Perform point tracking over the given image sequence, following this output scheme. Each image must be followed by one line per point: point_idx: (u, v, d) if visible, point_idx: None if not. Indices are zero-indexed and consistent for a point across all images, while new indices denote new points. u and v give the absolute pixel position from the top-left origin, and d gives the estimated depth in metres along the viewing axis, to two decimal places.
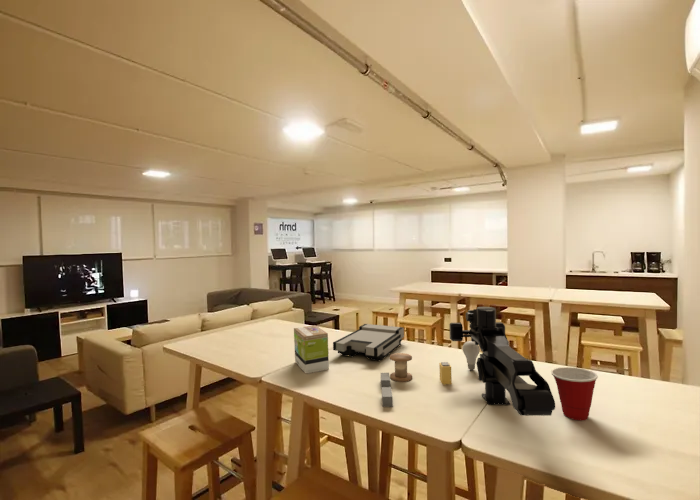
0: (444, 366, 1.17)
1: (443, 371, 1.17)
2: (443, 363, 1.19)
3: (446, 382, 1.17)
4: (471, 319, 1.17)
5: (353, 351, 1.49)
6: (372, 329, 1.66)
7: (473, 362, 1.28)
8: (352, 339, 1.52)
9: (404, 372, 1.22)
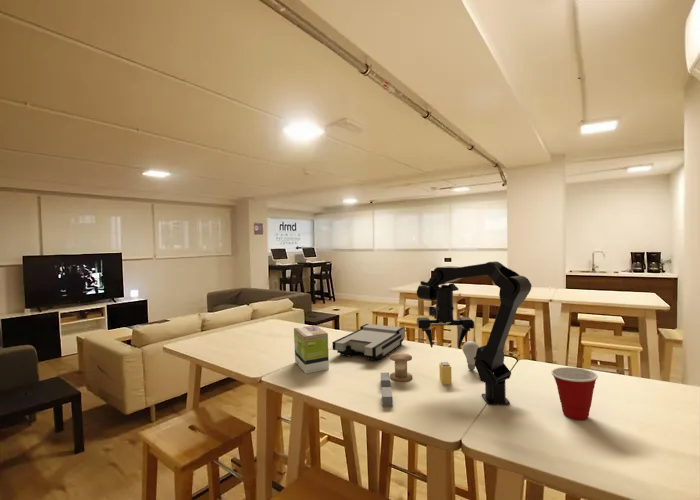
0: (444, 366, 1.17)
1: (443, 371, 1.17)
2: (443, 363, 1.19)
3: (446, 382, 1.17)
4: (433, 308, 1.24)
5: (352, 351, 1.50)
6: (373, 329, 1.66)
7: (473, 362, 1.28)
8: (351, 338, 1.52)
9: (404, 372, 1.22)
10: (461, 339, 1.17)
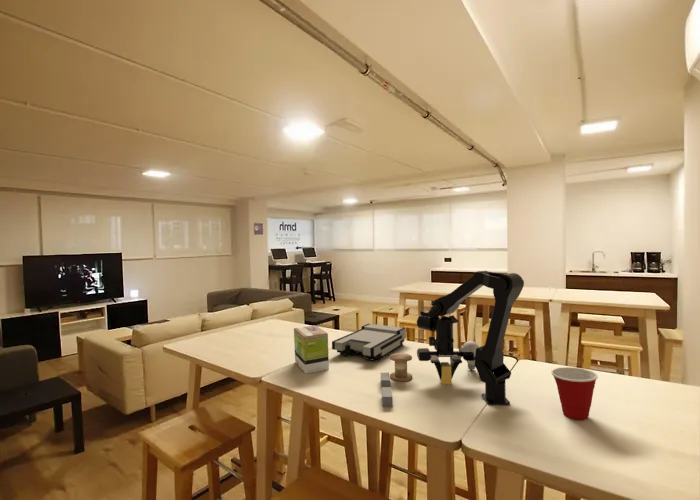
0: (444, 366, 1.17)
1: (443, 371, 1.17)
2: (443, 363, 1.19)
3: (446, 382, 1.17)
4: (433, 339, 1.24)
5: (352, 351, 1.50)
6: (374, 329, 1.66)
7: (473, 362, 1.28)
8: (351, 338, 1.53)
9: (404, 372, 1.22)
10: (453, 371, 1.17)
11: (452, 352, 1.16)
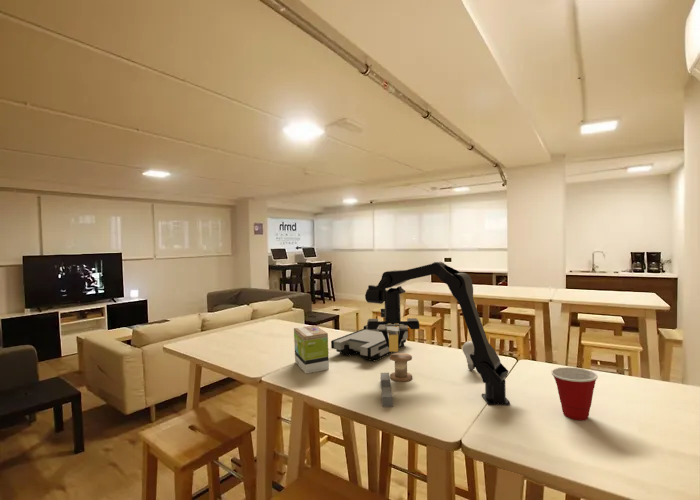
0: (391, 334, 1.24)
1: (390, 339, 1.24)
2: (391, 332, 1.26)
3: (393, 349, 1.24)
4: (384, 310, 1.31)
5: (351, 350, 1.51)
6: (376, 329, 1.66)
7: None
8: (351, 338, 1.53)
9: (404, 372, 1.22)
10: (400, 339, 1.24)
11: (398, 321, 1.23)
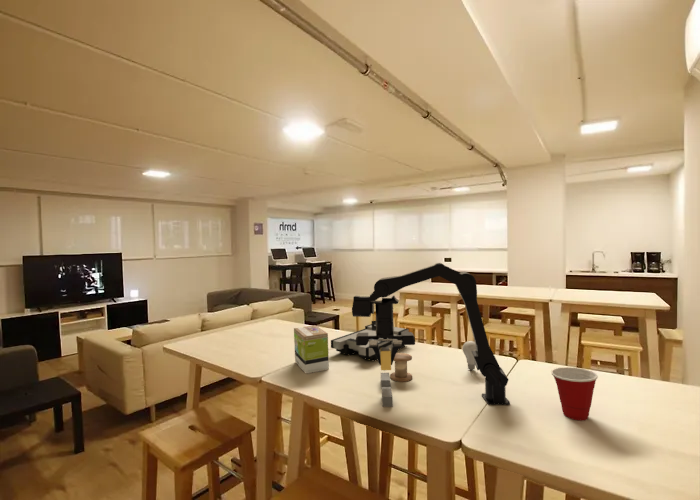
0: (383, 351, 1.10)
1: (382, 356, 1.09)
2: (383, 348, 1.11)
3: (385, 368, 1.09)
4: (375, 323, 1.16)
5: (351, 350, 1.51)
6: None
7: (473, 362, 1.28)
8: (351, 337, 1.54)
9: (404, 372, 1.22)
10: (393, 356, 1.09)
11: (391, 336, 1.08)
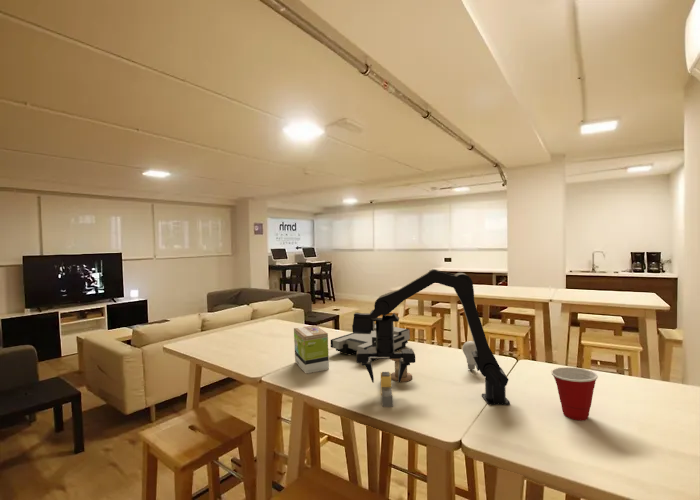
0: (384, 376, 1.10)
1: (382, 381, 1.09)
2: (384, 373, 1.11)
3: None
4: (375, 339, 1.17)
5: (350, 350, 1.51)
6: None
7: (473, 362, 1.28)
8: (350, 337, 1.54)
9: (404, 372, 1.22)
10: (401, 374, 1.09)
11: (391, 354, 1.08)
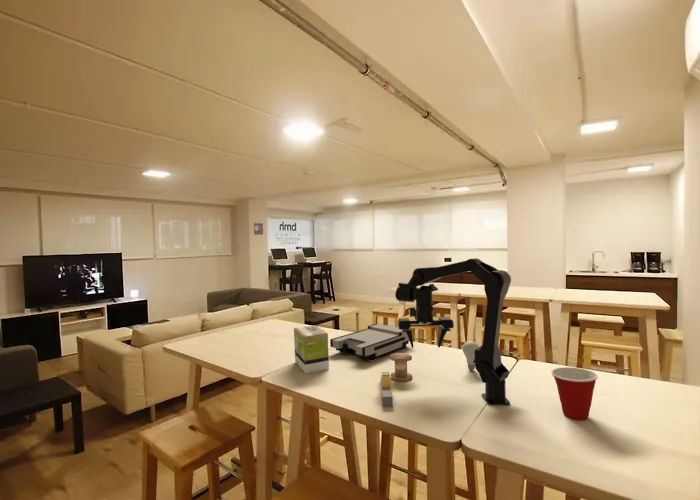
0: (384, 376, 1.10)
1: (382, 381, 1.09)
2: (384, 373, 1.11)
3: None
4: (413, 309, 1.25)
5: (350, 349, 1.52)
6: (379, 329, 1.65)
7: None
8: (350, 337, 1.55)
9: (404, 372, 1.22)
10: (441, 339, 1.18)
11: (431, 320, 1.17)
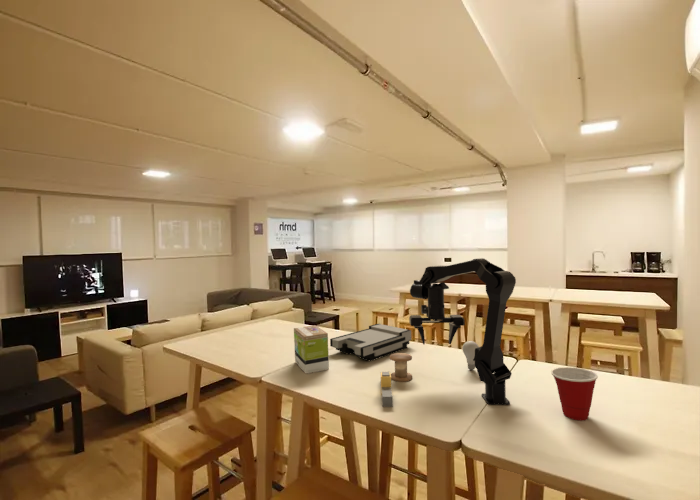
0: (384, 376, 1.10)
1: (382, 381, 1.09)
2: (384, 373, 1.11)
3: None
4: (425, 307, 1.28)
5: (350, 349, 1.52)
6: (379, 329, 1.65)
7: (473, 362, 1.28)
8: (350, 337, 1.55)
9: (404, 372, 1.22)
10: (452, 336, 1.21)
11: (443, 317, 1.20)
